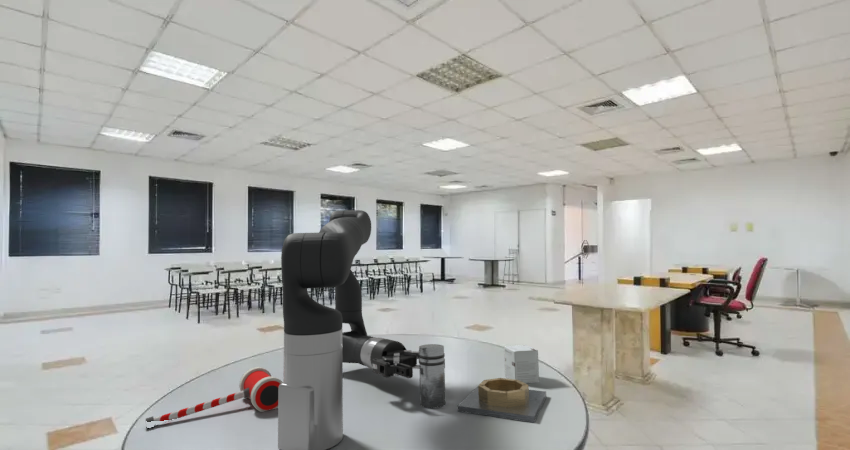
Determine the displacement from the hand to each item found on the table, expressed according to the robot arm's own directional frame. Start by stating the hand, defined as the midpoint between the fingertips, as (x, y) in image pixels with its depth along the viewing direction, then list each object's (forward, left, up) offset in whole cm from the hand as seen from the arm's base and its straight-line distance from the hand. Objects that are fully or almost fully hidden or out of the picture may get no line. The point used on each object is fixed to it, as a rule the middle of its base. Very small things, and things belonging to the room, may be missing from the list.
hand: (428, 368), depth 79 cm
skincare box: (+21, -14, -7) cm, 27 cm away
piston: (-1, -1, -7) cm, 7 cm away
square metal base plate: (+4, -14, -7) cm, 16 cm away
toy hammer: (-18, +35, -7) cm, 40 cm away
